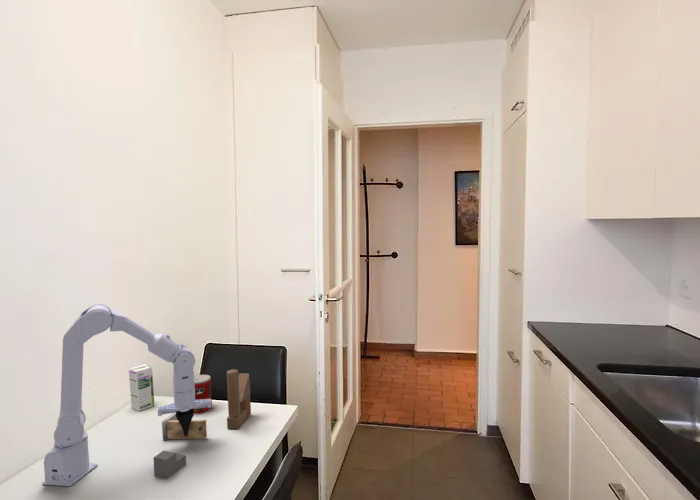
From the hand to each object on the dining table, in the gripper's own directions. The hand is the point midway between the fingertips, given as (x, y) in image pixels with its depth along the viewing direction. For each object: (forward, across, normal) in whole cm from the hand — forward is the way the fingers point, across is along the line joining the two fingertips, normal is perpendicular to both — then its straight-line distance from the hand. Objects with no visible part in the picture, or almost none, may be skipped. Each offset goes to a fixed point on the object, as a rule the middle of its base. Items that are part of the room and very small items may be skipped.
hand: (186, 434), depth 123 cm
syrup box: (+3, -14, +35) cm, 38 cm away
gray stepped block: (+3, -4, -13) cm, 14 cm away
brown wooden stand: (+3, +16, +8) cm, 18 cm away
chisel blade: (+3, -4, +9) cm, 10 cm away
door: (+2, 0, +3) cm, 3 cm away
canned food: (+3, +4, +24) cm, 24 cm away
